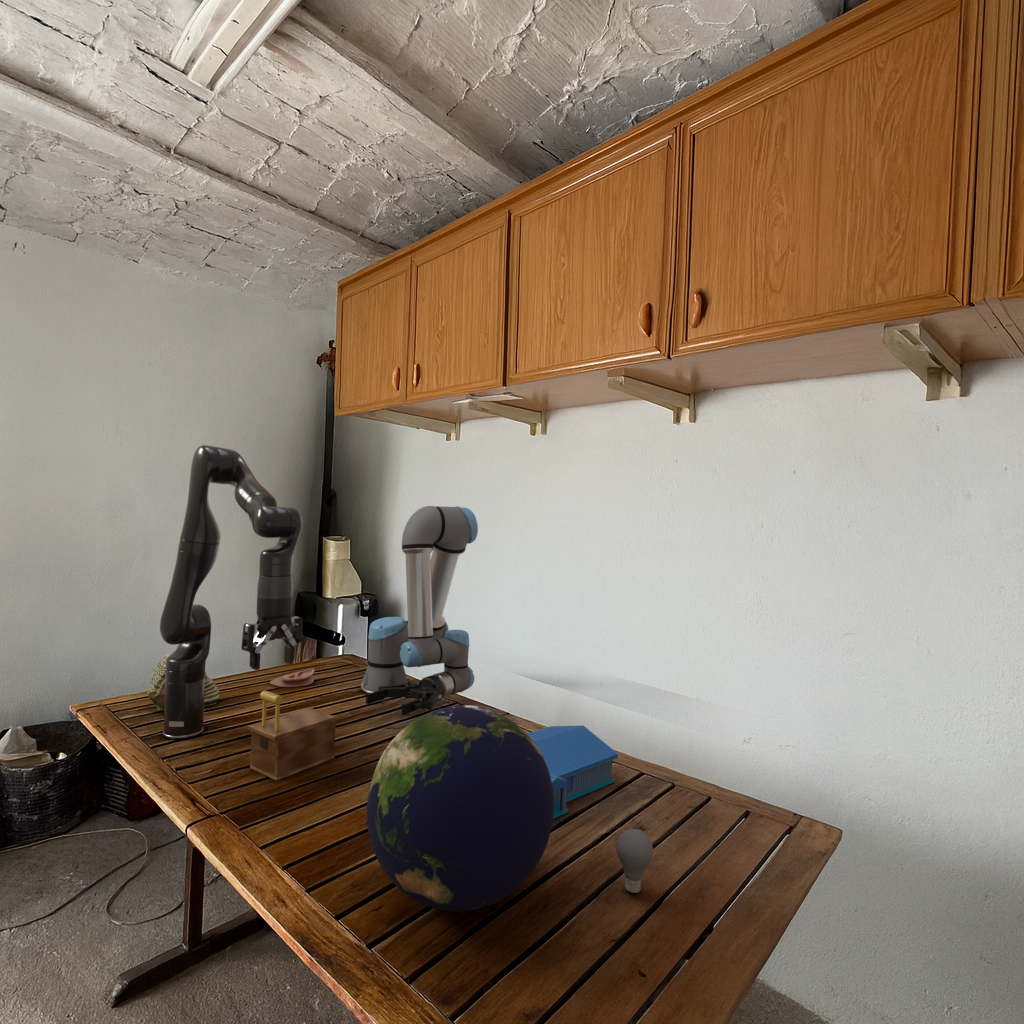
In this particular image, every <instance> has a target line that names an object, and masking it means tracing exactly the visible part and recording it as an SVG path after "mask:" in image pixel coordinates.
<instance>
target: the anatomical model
mask: <svg viewBox="0 0 1024 1024" xmlns="http://www.w3.org/2000/svg"><path fill="white" fill-rule="evenodd" d="M314 674H315V668H308V669H304V670H300V671H296V672H292V673H289V674H285V675H282V676H279V677H277V678H274V679H272V680H269V684H270V685H272V686H275V687H279V688H295V687H296V688H297V687H303V686H309V685H311V684H313V683H314V682H315V678H313V676H314Z"/></svg>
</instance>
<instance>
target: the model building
mask: <svg viewBox="0 0 1024 1024" xmlns="http://www.w3.org/2000/svg"><path fill="white" fill-rule="evenodd" d="M526 733H527V734H528V735H529V736H530V737H531V739H532V740H533V741H534V742H535V744H536V745H537V747H538V748H539V750H540V752H541V753H542V755H543V757H544V760H545V763H546V765H547V767H548V770H549V774H550V777H551V782H552V786H553V794H554V816H553V820H554V819H556V818H558V817H560V816H563V815H565V814H567V813H569V809H568V808H567V803H569V802H571V801H573V800H575V799H577V798H580V797H582V796H586V795H587V794H589V793H590V794H591V793H592V792H594V791H597V790H599V789H601V788H604V787H606V786H608V785H611V784H614V783H616V779H615V778H613V777H612V775H613V761H615V760H617V759H619V753H618V752H617V751H616V750H615V749H613V748H612V747H611V746H609V745H608V744H607V743H606V742H604V741H603V740H602V738H600V737H599V736H597V735H596V734H594V733H593V732H592V731H591V730H590V729H588V728H587V727H586V726H585V725H553V726H552V725H551V726H546V727H544V728H540V729H537V730H534V731H531V732H530V731H529V732H526Z"/></svg>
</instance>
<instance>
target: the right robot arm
mask: <svg viewBox="0 0 1024 1024" xmlns="http://www.w3.org/2000/svg"><path fill="white" fill-rule="evenodd" d="M476 517H477V516H476V515H475V513H474V512H473V511H472V510H471V509H470V508H468V507H462V506H457V505H456V506H438V505H437V506H434V505H426V506H423V507H421V508H419V509H417V510H416V511H414V513H413V514H412V515H410V517H409V519H408V520H407V522H406V524H405V526H404V528H403V532H402V538H401V551H402V552H403V553H404V556H405V579H406V581H405V582H406V583H405V584H406V610H407V620H406V619H405V618H404V617H402V616H386V617H381V618H378V619H375V620H373V621H372V622H371V623H370V624H369V629H368V636H367V638H368V644H367V646H368V647H367V648H368V649H367V666H366V667H367V668H366V670H365V674H364V675H363V678H362V681H360V691H361V692H362V693H363V694H365V704H366V705H371V704H374V703H376V702H379V701H384V700H385V699H386V698H403V697H404V698H405V699H414V700H411V701H408V702H405V703H403V704H401V712H400V713H401V714H400V715H401V716H405V715H408V714H411V713H414V712H416V711H419V710H425V709H426V710H427V711H433V709H434V708H435V706H436V705H437V704H438V703H439V702H440V701H442V700H443V699H444V698H447V697H450V696H453V695H456V694H458V693H463V692H464V691H466V690H468V689H470V688H471V687H473V685H474V683H475V674H474V671H473V670H472V668H471V667H470V666H469V653H470V635H469V632H468V631H467V630H463V629H449V625H448V623H447V621H446V618H445V616H444V610H445V609H446V608H445V607H446V604H447V600H448V596H449V593H450V589H451V585H452V582H453V578H454V575H455V572H456V571H455V570H456V567H457V563H458V561H459V556H460V555H463V554H464V553H465V552H466V549H467V545H468V544H472V543H474V542H475V541H476V539H477V537H478V533H479V531H478V530H479V526H478V521H477V518H476ZM439 664H443V671H440V672H438V673H433V674H432V675H428V676H425V677H423V678H420V681H419V682H418V683H414V684H411V683H410V682H409V681H410V679H409V678H408V677H407V674H406V670H405V667H406V668H421V667H425V666H432V665H439Z"/></svg>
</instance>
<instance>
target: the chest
mask: <svg viewBox="0 0 1024 1024" xmlns="http://www.w3.org/2000/svg"><path fill="white" fill-rule="evenodd" d="M336 723H337V722H336V721H333V722H330V723H327V724H324V725H321V726H318V727H315V728H312V729H309V730H306V731H303V732H300V733H297V734H294V735H291V736H288V737H285V738H282V739H279V740H276V741H274V740H272V739H269V738H267V737H264V736H262V735H259V734H257V733H254V732H252V731H250V734H251V735H250V736H251V737H250V759H249V761H250V763H249V769H251V770H253V771H255V772H257V773H259V774H261V775H264V776H266V777H268V778H270V779H272V780H275V781H279V780H283V779H284V778H288V777H290V776H292V775H295V774H298V773H300V772H303V771H306V770H307V769H310V768H313V767H315V766H318V765H320V764H322V763H326V762H328V761H330V760H333V759H335V753H336V752H335V750H336V749H335V747H336Z"/></svg>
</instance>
